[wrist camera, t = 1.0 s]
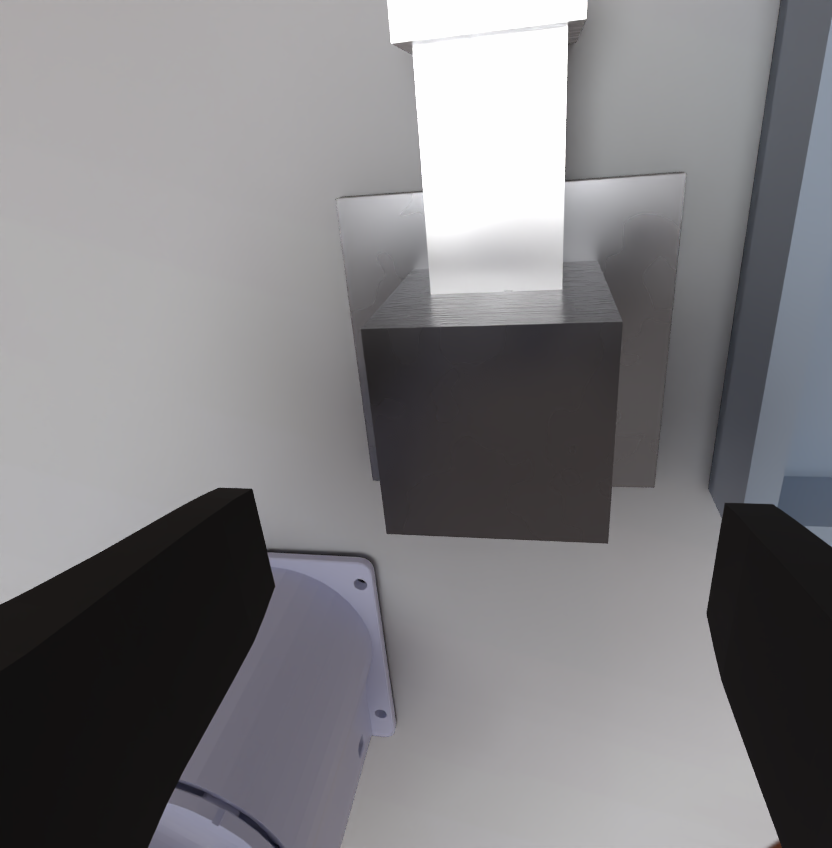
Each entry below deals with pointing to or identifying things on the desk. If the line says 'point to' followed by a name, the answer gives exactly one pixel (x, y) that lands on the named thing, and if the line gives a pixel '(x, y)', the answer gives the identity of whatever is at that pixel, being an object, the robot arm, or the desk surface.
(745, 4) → the desk surface
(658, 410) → the stud plate
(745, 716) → the robot arm
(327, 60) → the desk surface
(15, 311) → the desk surface
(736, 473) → the tray
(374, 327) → the strut
